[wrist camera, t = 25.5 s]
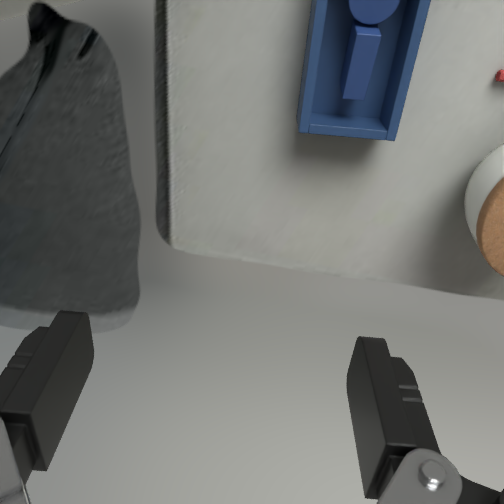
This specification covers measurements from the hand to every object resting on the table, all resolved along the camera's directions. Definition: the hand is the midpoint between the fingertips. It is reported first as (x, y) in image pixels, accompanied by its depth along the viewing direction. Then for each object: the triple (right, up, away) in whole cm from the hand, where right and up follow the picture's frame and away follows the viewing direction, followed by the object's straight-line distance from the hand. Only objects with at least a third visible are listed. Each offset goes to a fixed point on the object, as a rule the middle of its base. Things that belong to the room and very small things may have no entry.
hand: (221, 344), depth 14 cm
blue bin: (+8, +18, +19) cm, 27 cm away
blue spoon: (+8, +18, +17) cm, 26 cm away
